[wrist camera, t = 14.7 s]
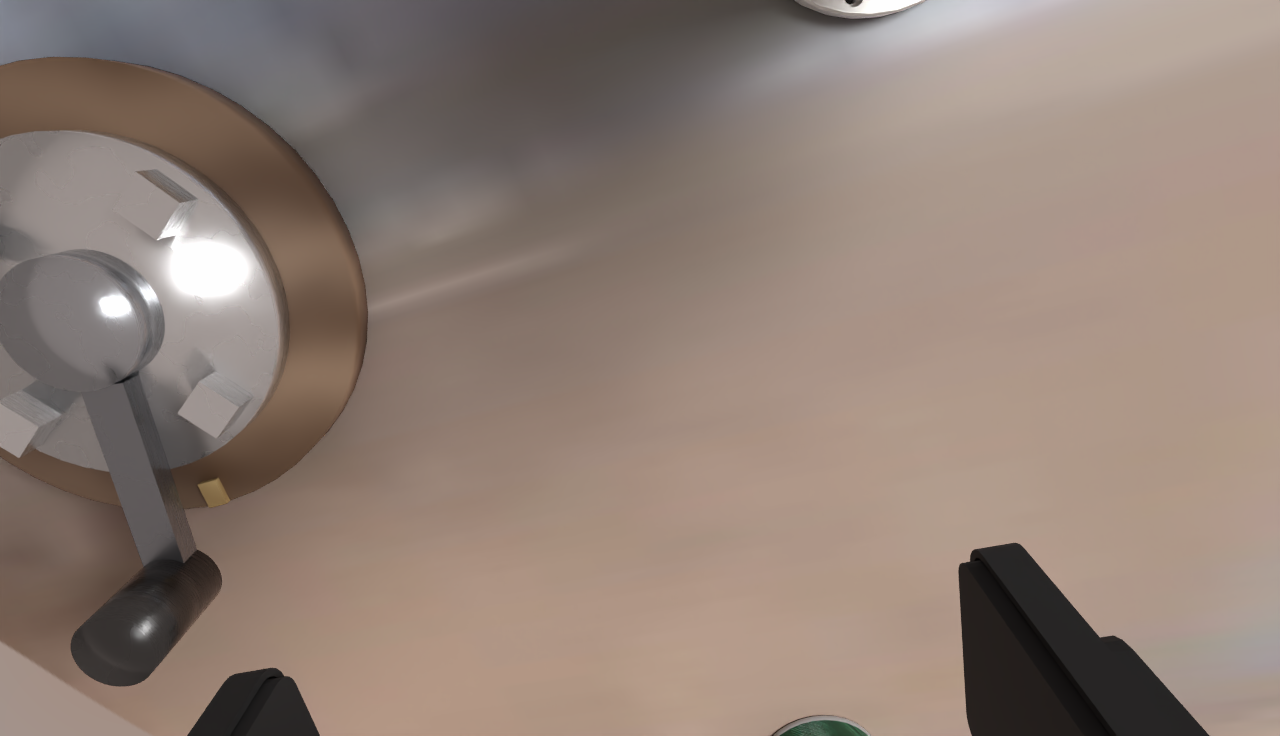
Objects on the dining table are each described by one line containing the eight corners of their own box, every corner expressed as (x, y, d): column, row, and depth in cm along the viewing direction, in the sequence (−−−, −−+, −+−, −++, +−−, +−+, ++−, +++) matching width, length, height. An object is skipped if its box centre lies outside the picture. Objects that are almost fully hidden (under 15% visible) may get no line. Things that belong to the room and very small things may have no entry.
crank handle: (-121, 148, 33) (-320, 156, 26) (240, 112, 33) (138, 111, 26) (64, 602, 40) (-51, 703, 33) (357, 574, 40) (302, 669, 33)
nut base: (-138, 37, 33) (-192, 32, 31) (360, 83, 34) (343, 81, 32) (-39, 478, 40) (-76, 499, 38) (373, 504, 41) (360, 525, 39)
